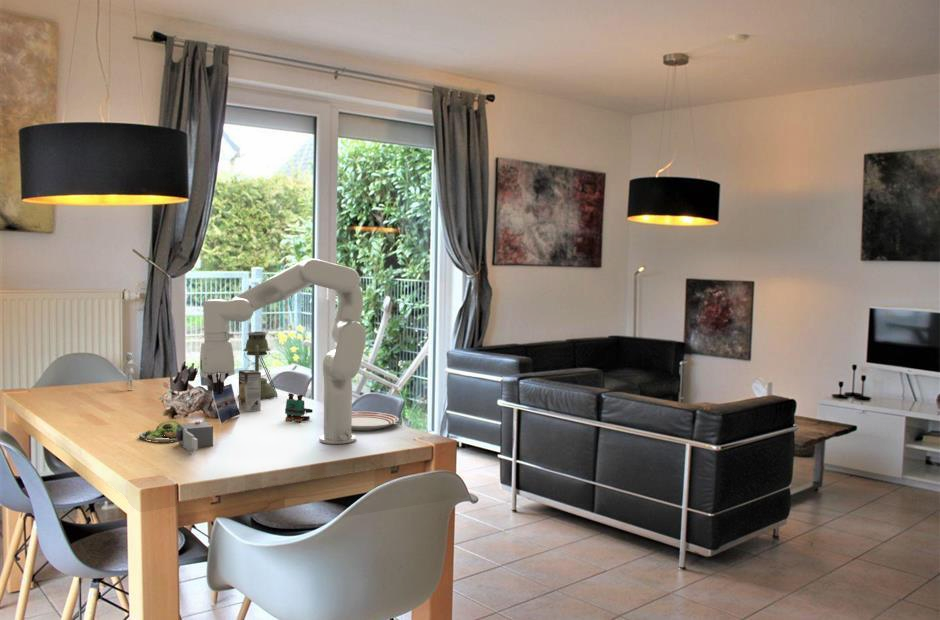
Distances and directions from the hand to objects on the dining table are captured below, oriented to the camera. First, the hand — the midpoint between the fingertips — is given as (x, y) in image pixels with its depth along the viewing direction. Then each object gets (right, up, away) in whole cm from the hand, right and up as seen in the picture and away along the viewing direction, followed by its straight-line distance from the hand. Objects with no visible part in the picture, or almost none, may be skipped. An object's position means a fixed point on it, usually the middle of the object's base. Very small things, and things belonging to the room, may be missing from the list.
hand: (218, 394), depth 248 cm
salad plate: (-24, -18, +19) cm, 35 cm away
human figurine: (-80, -11, +115) cm, 140 cm away
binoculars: (+14, -16, +53) cm, 57 cm away
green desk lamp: (-16, -13, +103) cm, 105 cm away
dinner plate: (+41, -17, +44) cm, 62 cm away
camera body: (-10, -18, +8) cm, 22 cm away
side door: (-8, -18, -3) cm, 20 cm away
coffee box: (-11, -15, +73) cm, 75 cm away
